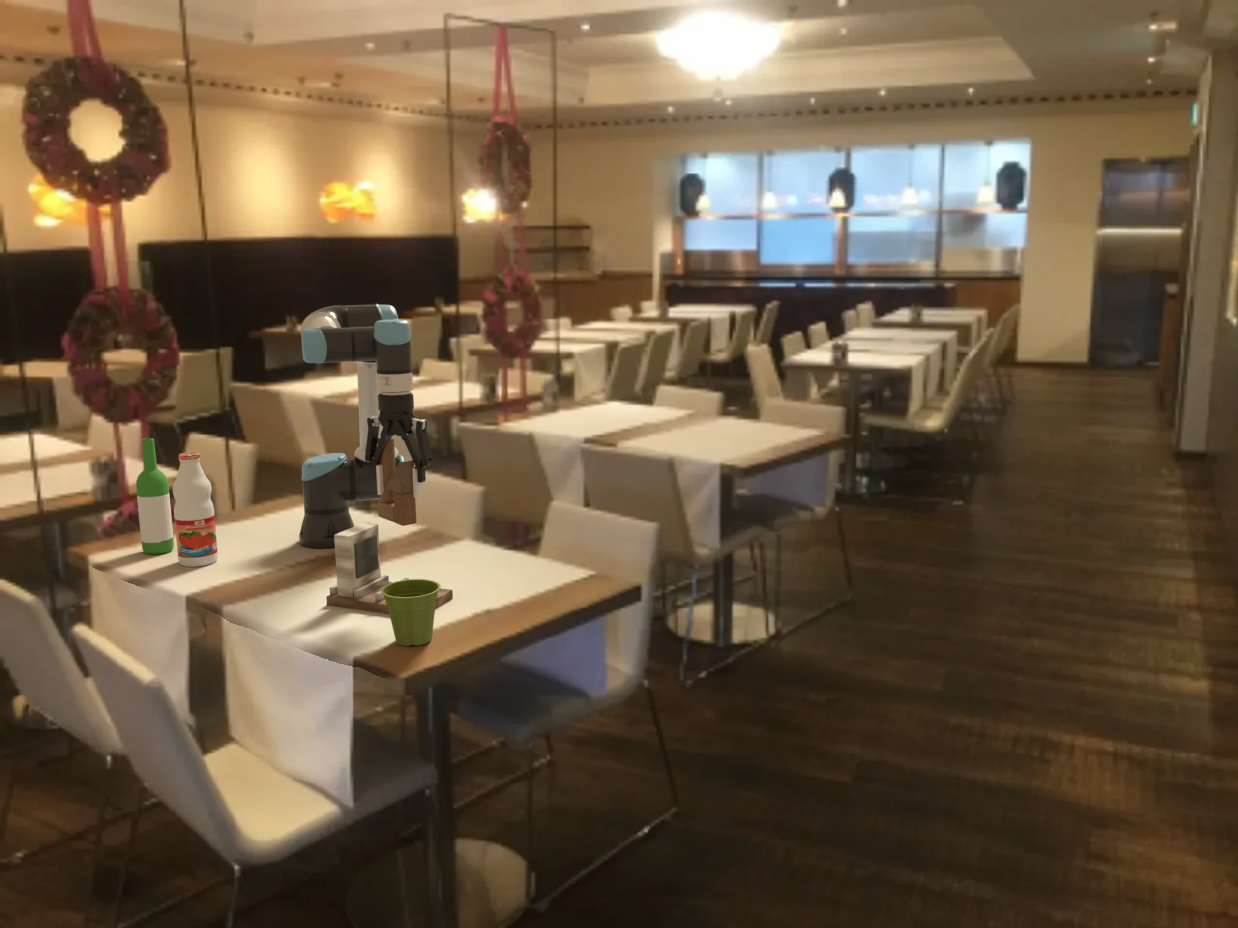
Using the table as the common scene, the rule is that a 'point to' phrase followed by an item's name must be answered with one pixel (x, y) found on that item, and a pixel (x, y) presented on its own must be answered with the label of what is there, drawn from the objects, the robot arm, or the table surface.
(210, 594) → the table surface
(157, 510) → the wine bottle
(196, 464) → the fruit juice
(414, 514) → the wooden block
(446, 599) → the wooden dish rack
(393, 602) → the plant pot
